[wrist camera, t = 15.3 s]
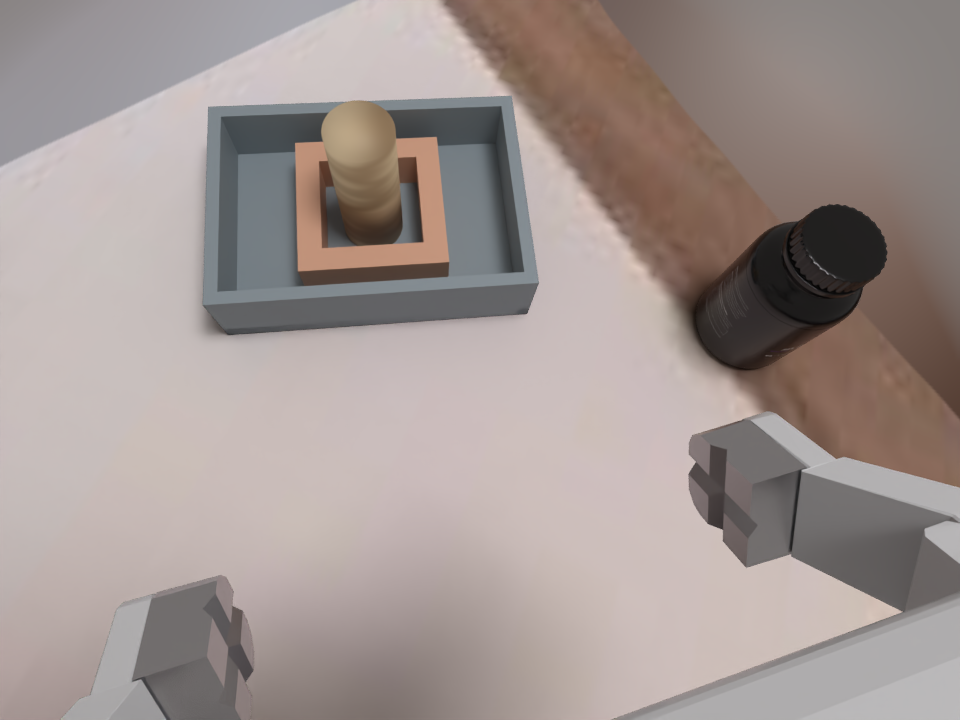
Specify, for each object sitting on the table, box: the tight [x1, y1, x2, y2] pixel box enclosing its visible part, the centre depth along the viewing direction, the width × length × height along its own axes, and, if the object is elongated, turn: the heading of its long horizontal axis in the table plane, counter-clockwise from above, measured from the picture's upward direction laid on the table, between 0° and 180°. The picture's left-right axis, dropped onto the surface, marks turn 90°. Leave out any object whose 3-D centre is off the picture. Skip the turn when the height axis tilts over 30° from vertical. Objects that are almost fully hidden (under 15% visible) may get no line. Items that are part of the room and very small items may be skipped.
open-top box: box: [203, 96, 539, 335], centre depth 43 cm, size 20×14×5 cm
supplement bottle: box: [696, 204, 887, 369], centre depth 40 cm, size 7×7×12 cm
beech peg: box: [321, 101, 403, 246], centre depth 40 cm, size 4×4×10 cm
